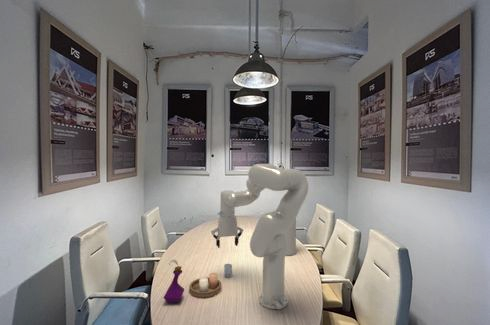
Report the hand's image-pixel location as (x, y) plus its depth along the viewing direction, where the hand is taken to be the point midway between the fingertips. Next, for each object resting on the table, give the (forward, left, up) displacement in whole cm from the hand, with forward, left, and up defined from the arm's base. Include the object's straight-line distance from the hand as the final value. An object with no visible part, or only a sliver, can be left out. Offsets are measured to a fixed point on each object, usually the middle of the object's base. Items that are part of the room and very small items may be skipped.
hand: (227, 246), depth 136 cm
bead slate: (0, 0, -17) cm, 17 cm away
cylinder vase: (+23, -45, -17) cm, 54 cm away
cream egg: (-14, +14, -16) cm, 25 cm away
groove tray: (-10, +13, -16) cm, 23 cm away
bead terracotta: (-10, +9, -16) cm, 21 cm away
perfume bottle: (-16, +28, -17) cm, 36 cm away
